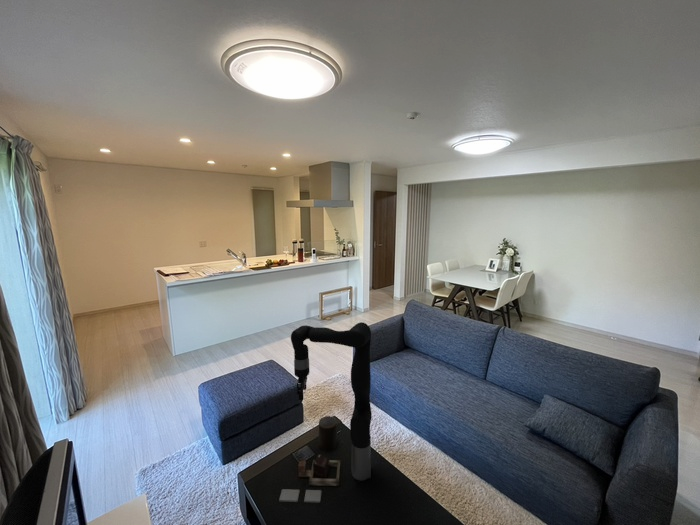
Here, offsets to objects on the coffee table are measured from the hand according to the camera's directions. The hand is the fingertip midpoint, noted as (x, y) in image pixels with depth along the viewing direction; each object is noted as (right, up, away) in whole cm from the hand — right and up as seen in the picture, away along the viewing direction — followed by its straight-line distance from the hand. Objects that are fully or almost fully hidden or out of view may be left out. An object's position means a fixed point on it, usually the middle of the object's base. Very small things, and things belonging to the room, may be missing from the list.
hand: (302, 394), depth 147 cm
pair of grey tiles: (+2, -37, -19) cm, 42 cm away
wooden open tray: (+10, -35, -9) cm, 37 cm away
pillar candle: (+12, -32, +10) cm, 36 cm away
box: (+10, -35, -8) cm, 37 cm away
